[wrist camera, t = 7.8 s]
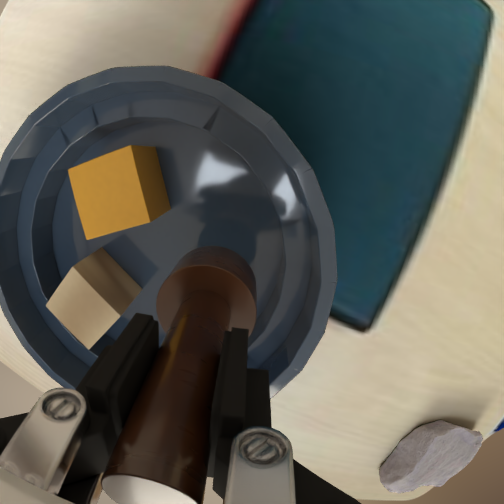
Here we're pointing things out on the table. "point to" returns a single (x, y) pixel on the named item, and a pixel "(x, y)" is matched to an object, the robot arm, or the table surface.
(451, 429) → the stone block
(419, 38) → the table surface
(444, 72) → the table surface
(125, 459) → the pestle
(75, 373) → the bowl
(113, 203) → the mustard block
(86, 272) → the cream block
